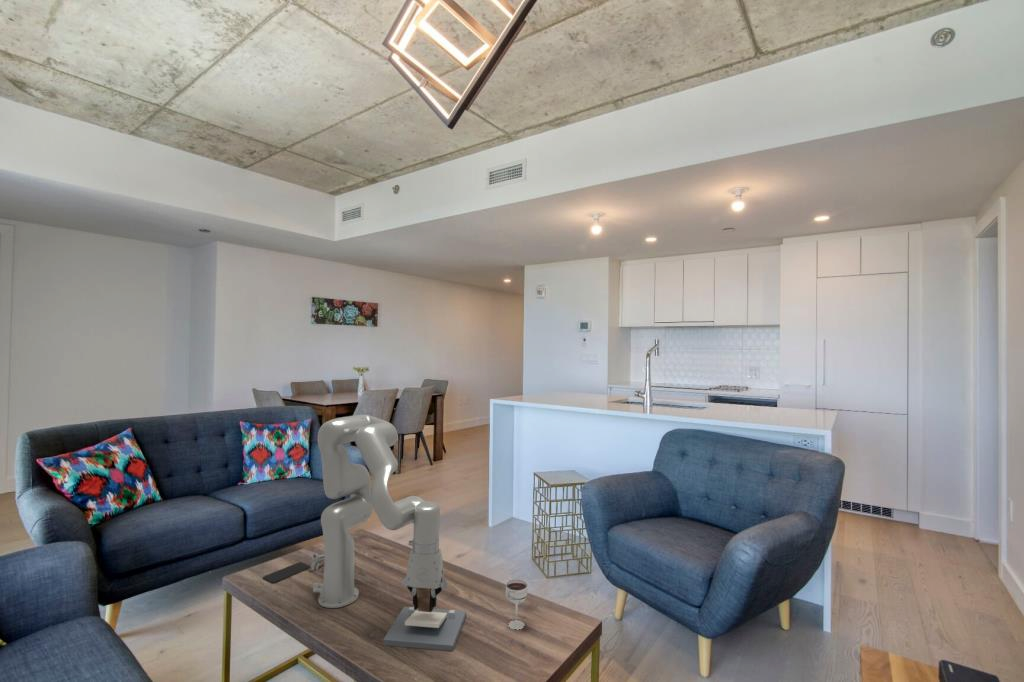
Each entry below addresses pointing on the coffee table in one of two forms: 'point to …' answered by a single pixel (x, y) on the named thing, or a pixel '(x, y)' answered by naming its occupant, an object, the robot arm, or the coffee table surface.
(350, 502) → the robot arm
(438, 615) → the tile
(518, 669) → the coffee table surface
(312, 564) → the caliper
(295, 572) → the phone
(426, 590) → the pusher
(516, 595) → the wineglass
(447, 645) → the board
